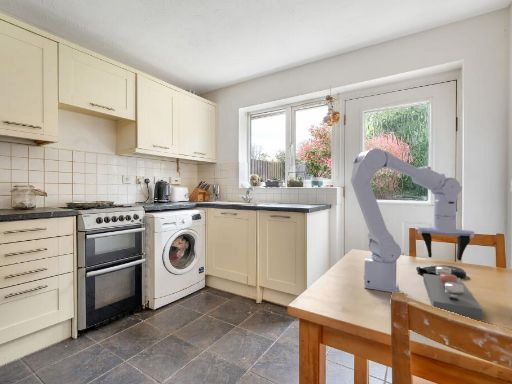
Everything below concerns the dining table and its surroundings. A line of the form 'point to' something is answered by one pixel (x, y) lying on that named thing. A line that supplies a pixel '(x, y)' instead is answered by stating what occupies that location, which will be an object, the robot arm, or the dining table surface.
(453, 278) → the middle knob
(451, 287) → the near knob
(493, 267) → the dining table surface
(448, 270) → the far knob
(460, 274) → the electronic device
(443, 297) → the knob mount
